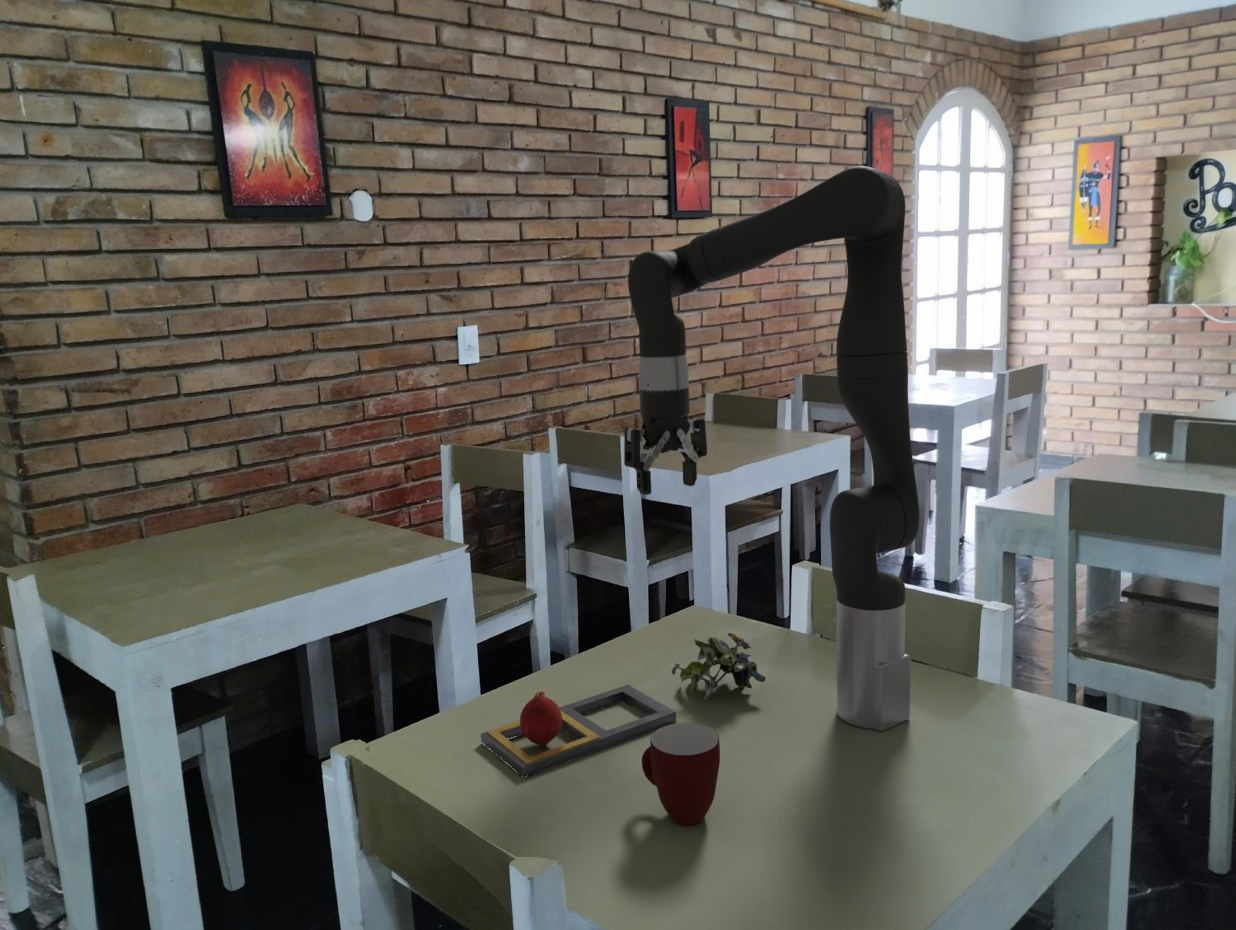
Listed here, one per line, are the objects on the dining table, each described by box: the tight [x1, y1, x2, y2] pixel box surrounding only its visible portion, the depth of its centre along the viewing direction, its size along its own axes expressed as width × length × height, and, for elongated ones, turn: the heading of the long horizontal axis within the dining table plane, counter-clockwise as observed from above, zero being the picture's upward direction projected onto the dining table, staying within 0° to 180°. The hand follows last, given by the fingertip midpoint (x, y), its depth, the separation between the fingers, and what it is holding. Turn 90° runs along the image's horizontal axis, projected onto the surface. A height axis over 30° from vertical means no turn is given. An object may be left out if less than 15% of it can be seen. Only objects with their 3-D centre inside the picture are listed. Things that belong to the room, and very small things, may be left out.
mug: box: [641, 722, 721, 826], centre depth 114 cm, size 11×8×10 cm
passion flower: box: [671, 632, 766, 704], centre depth 145 cm, size 11×11×12 cm
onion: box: [519, 689, 563, 747], centre depth 132 cm, size 6×6×8 cm
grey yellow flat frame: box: [480, 684, 677, 777], centre depth 136 cm, size 12×25×2 cm, turn 125°
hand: (667, 489), depth 149 cm, fingers open, 8 cm apart
